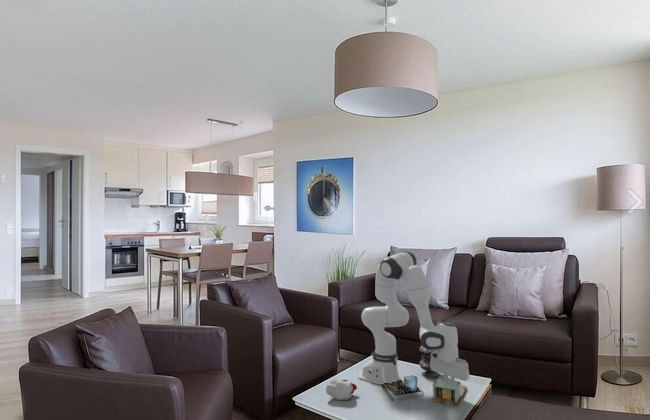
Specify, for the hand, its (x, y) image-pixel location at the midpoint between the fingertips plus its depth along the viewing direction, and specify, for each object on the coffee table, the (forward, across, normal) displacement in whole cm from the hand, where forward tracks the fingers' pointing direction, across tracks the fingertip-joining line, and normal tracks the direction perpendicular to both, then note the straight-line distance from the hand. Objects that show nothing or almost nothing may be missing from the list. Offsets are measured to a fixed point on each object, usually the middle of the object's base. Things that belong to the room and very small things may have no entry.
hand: (449, 384), depth 206 cm
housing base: (+5, 0, 0) cm, 5 cm away
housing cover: (+4, -2, +6) cm, 7 cm away
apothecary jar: (+5, +22, -15) cm, 27 cm away
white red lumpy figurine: (+5, +32, +41) cm, 52 cm away
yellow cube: (+4, -2, +6) cm, 7 cm away
